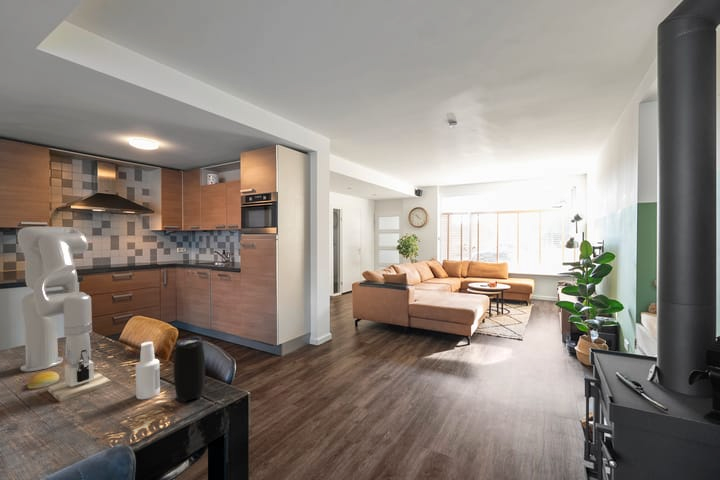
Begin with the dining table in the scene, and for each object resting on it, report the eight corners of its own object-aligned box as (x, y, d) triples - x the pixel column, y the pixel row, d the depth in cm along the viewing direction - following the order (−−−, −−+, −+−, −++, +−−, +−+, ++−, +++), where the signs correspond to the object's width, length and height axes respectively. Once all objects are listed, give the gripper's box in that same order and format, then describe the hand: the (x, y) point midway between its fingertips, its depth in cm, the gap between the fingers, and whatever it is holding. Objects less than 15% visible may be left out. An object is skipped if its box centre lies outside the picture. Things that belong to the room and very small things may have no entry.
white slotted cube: (65, 382, 111) (64, 364, 111) (87, 375, 117) (87, 358, 117) (71, 386, 108) (70, 368, 108) (94, 379, 113) (93, 361, 113)
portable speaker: (168, 402, 102) (167, 343, 101) (191, 388, 111) (189, 334, 110) (189, 406, 100) (188, 345, 99) (211, 391, 109) (209, 336, 108)
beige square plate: (47, 390, 110) (47, 374, 110) (97, 375, 122) (96, 360, 122) (59, 402, 103) (59, 384, 103) (111, 384, 114) (110, 368, 114)
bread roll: (26, 392, 110) (25, 381, 110) (30, 383, 117) (29, 372, 117) (58, 384, 115) (58, 374, 115) (60, 376, 122) (60, 366, 122)
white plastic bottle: (164, 391, 109) (163, 340, 109) (145, 401, 103) (144, 347, 102) (150, 388, 111) (149, 338, 111) (131, 398, 105) (130, 345, 104)
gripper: (56, 328, 113) (58, 376, 114) (72, 336, 104) (74, 389, 104) (83, 323, 120) (84, 369, 120) (100, 330, 110) (101, 380, 111)
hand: (79, 377), depth 112 cm, fingers closed on white slotted cube, 6 cm apart
